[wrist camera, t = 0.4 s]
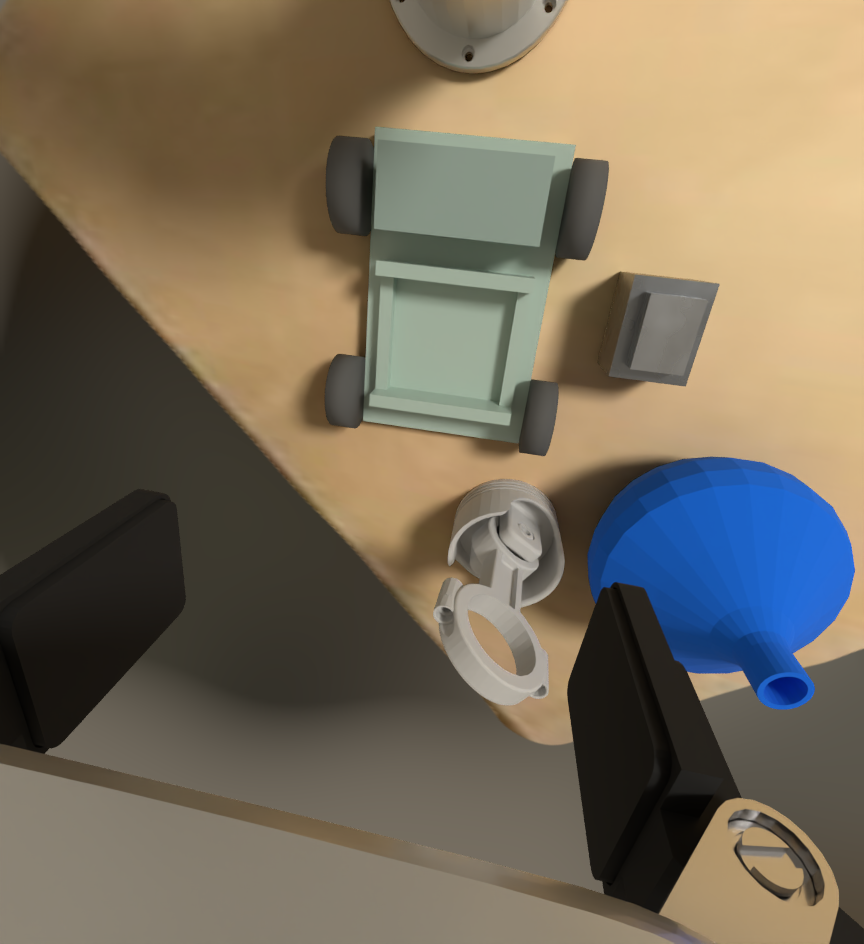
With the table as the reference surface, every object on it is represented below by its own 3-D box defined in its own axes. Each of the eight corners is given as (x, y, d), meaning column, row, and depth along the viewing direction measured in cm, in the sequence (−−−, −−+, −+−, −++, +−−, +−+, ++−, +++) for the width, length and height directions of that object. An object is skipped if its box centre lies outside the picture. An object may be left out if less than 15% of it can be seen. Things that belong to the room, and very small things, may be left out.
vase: (839, 495, 42) (1072, 668, 25) (690, 629, 50) (787, 830, 32) (664, 389, 40) (782, 494, 23) (539, 544, 48) (556, 709, 31)
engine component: (509, 583, 50) (579, 522, 46) (510, 775, 32) (627, 702, 28) (428, 522, 49) (493, 452, 45) (379, 687, 30) (484, 595, 26)
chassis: (353, 128, 36) (323, 105, 30) (601, 151, 34) (621, 131, 28) (346, 412, 45) (322, 437, 39) (540, 440, 43) (545, 470, 38)
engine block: (619, 271, 37) (640, 275, 31) (693, 279, 37) (728, 285, 31) (597, 362, 40) (612, 381, 34) (665, 370, 40) (692, 391, 34)
